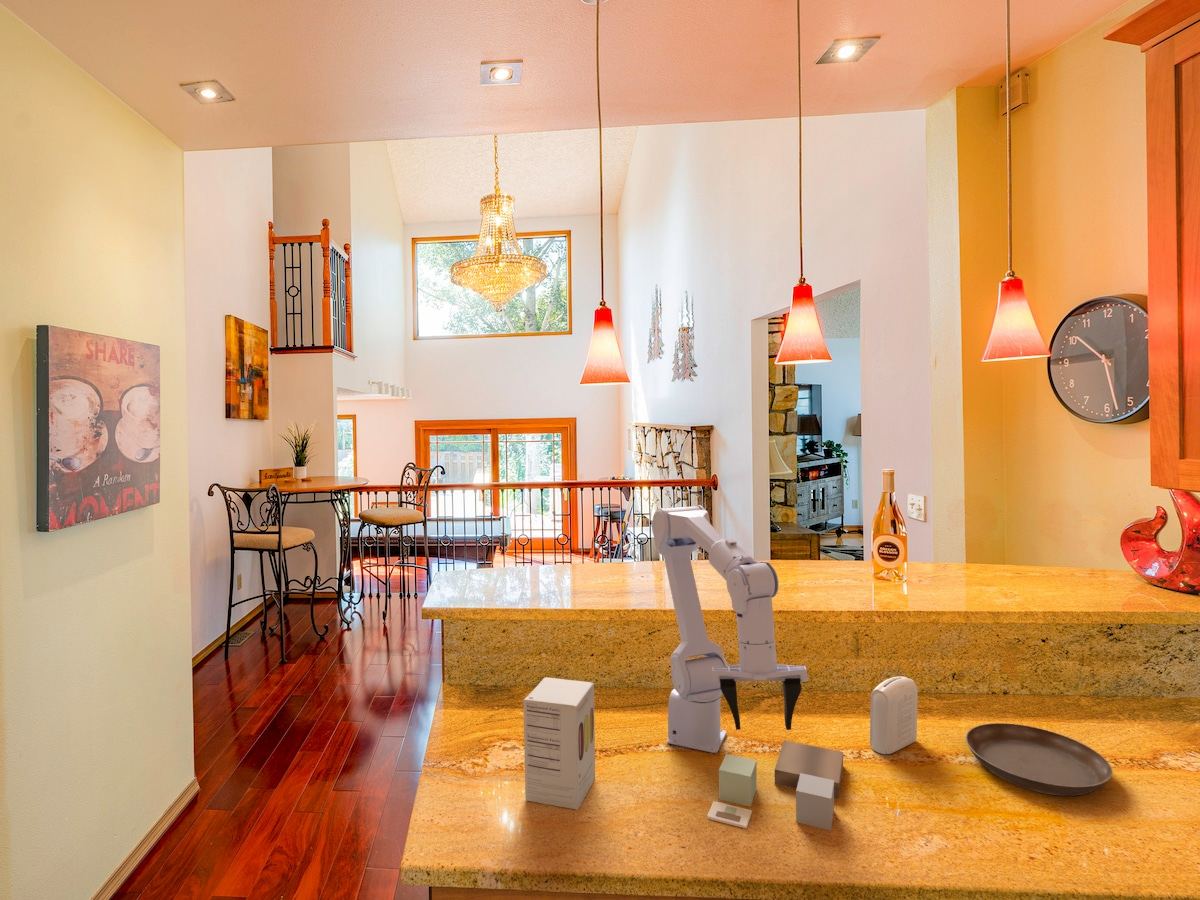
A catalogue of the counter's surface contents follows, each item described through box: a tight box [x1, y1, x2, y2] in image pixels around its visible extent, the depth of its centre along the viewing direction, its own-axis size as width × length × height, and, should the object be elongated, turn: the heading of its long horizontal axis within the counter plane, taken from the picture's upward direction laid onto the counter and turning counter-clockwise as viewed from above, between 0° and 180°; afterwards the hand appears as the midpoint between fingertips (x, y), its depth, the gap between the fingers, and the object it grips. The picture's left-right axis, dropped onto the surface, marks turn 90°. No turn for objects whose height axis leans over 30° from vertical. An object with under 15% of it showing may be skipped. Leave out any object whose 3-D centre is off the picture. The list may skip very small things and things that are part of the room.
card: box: [706, 800, 753, 829], centre depth 98 cm, size 6×4×1 cm, turn 66°
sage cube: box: [718, 753, 758, 807], centre depth 104 cm, size 5×5×5 cm
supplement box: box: [522, 676, 596, 811], centre depth 105 cm, size 10×9×17 cm
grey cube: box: [795, 773, 835, 831], centre depth 98 cm, size 5×5×5 cm
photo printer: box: [869, 675, 919, 755], centre depth 118 cm, size 10×4×12 cm, turn 123°
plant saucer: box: [965, 722, 1113, 797], centre depth 110 cm, size 21×21×3 cm
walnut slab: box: [774, 740, 844, 799], centre depth 109 cm, size 10×10×3 cm
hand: (762, 727), depth 101 cm, fingers open, 7 cm apart
